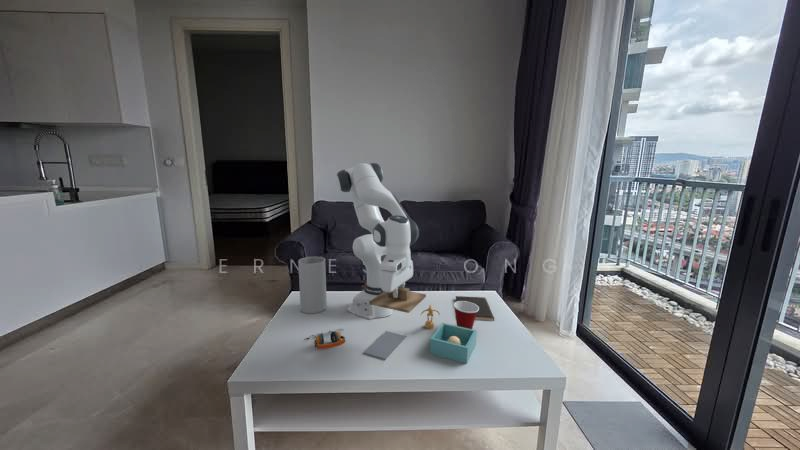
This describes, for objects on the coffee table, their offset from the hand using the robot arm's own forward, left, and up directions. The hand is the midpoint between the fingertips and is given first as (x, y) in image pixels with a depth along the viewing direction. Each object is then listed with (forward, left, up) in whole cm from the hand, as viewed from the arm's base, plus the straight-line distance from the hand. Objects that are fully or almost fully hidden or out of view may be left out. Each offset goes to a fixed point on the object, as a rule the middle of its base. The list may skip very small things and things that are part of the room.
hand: (398, 295), depth 122 cm
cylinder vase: (-53, +13, -22) cm, 59 cm away
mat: (0, 0, -22) cm, 22 cm away
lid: (0, 0, -2) cm, 2 cm away
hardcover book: (+18, +49, -23) cm, 57 cm away
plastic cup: (+20, +25, -22) cm, 39 cm away
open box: (+20, +8, -22) cm, 31 cm away
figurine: (+6, +19, -22) cm, 30 cm away
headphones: (-26, -9, -22) cm, 36 cm away
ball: (+20, +8, -21) cm, 30 cm away
